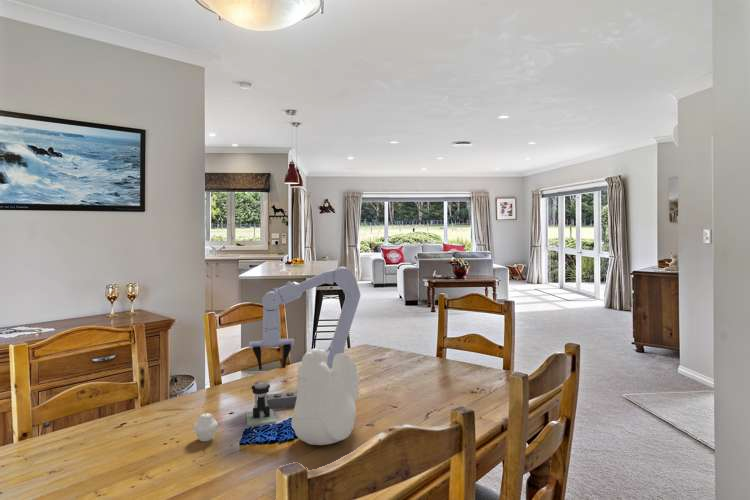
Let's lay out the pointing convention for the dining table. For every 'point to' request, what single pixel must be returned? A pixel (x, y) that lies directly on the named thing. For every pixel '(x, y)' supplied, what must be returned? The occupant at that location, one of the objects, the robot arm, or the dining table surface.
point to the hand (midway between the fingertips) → (272, 368)
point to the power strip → (281, 400)
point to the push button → (260, 400)
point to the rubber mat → (260, 419)
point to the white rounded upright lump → (325, 398)
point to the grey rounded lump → (205, 427)
